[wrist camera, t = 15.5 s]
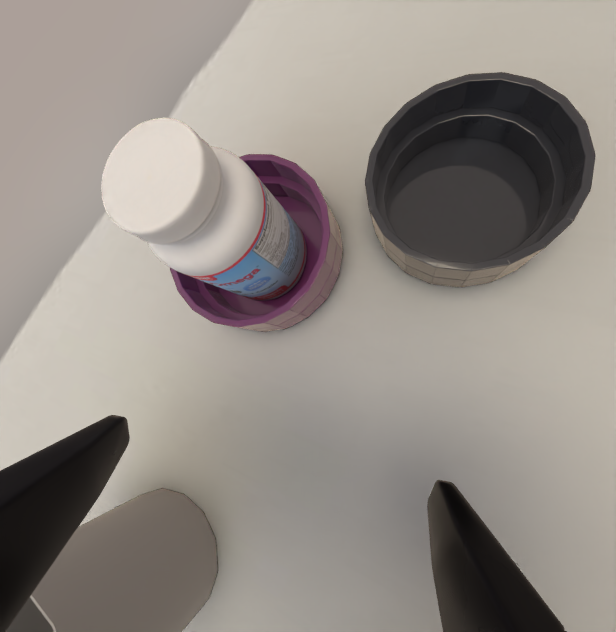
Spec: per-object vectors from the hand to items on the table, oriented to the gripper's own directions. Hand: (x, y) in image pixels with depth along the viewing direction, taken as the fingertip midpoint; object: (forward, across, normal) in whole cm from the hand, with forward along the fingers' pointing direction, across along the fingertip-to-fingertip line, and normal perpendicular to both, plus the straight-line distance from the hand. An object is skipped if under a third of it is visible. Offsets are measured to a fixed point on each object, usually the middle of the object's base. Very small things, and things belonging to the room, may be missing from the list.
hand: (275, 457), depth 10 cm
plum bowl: (+16, +4, -1) cm, 16 cm away
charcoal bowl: (+15, -7, -6) cm, 18 cm away
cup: (+6, +8, +18) cm, 21 cm away
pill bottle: (+16, +4, -1) cm, 16 cm away
